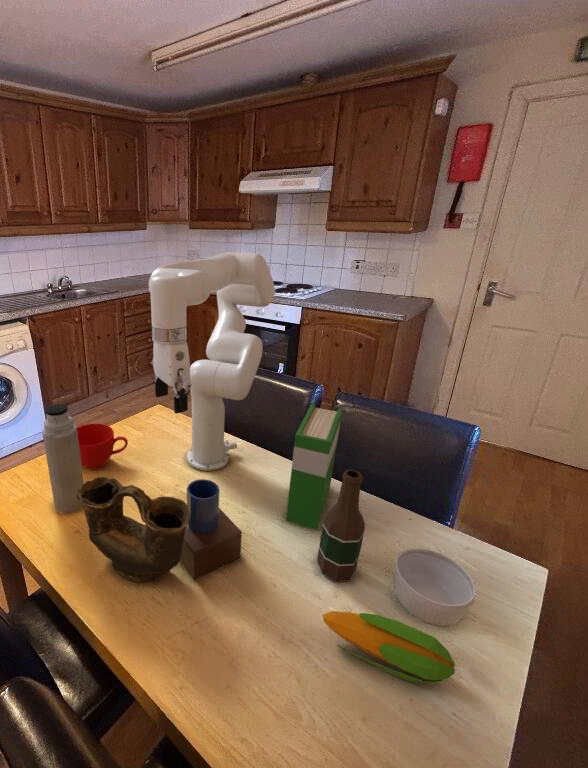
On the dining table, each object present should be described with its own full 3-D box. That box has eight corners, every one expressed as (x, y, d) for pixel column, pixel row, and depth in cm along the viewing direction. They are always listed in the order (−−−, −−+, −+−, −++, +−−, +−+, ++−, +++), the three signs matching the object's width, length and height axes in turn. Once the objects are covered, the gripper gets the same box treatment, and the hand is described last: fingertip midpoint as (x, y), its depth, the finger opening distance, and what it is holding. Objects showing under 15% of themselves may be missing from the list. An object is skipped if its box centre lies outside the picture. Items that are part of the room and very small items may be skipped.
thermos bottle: (61, 493, 112) (46, 399, 101) (89, 494, 111) (78, 400, 100) (49, 513, 105) (32, 414, 94) (80, 514, 104) (67, 416, 93)
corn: (463, 673, 60) (321, 616, 69) (451, 708, 63) (315, 650, 71) (458, 632, 66) (328, 585, 75) (447, 666, 69) (322, 617, 78)
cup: (207, 508, 94) (208, 475, 90) (224, 527, 89) (225, 492, 85) (181, 518, 91) (181, 485, 88) (197, 538, 86) (197, 503, 82)
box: (166, 540, 96) (166, 517, 93) (209, 523, 100) (209, 500, 98) (194, 580, 85) (194, 555, 83) (240, 558, 90) (241, 534, 88)
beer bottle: (354, 558, 90) (374, 465, 80) (356, 587, 83) (377, 490, 73) (317, 550, 92) (331, 459, 83) (315, 577, 85) (331, 481, 76)
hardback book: (302, 480, 115) (311, 403, 106) (329, 488, 112) (342, 409, 102) (285, 520, 101) (295, 434, 91) (317, 530, 98) (330, 442, 88)
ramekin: (469, 646, 72) (480, 618, 69) (385, 613, 78) (392, 586, 75) (464, 588, 82) (473, 562, 80) (390, 564, 88) (396, 538, 86)
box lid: (165, 515, 93) (164, 513, 93) (208, 499, 98) (208, 496, 98) (194, 555, 83) (194, 552, 82) (241, 534, 88) (241, 531, 87)
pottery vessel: (74, 562, 90) (62, 487, 82) (103, 529, 99) (95, 459, 91) (177, 605, 80) (175, 525, 72) (199, 565, 89) (200, 489, 81)
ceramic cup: (126, 475, 119) (124, 445, 115) (67, 475, 119) (63, 446, 115) (131, 451, 131) (129, 423, 127) (78, 451, 131) (74, 423, 127)
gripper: (204, 340, 85) (203, 414, 92) (166, 322, 99) (168, 387, 106) (172, 346, 82) (173, 422, 89) (137, 326, 96) (141, 393, 103)
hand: (171, 403), depth 97 cm, fingers open, 9 cm apart
